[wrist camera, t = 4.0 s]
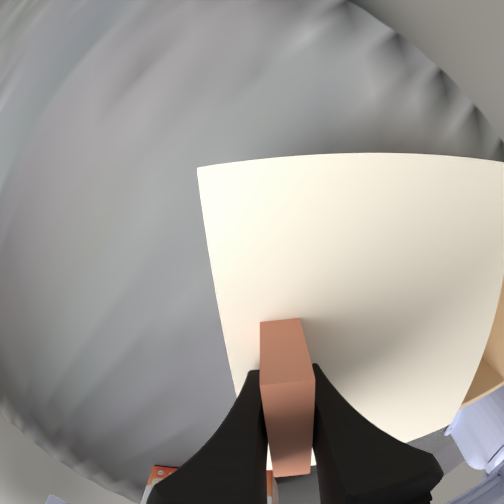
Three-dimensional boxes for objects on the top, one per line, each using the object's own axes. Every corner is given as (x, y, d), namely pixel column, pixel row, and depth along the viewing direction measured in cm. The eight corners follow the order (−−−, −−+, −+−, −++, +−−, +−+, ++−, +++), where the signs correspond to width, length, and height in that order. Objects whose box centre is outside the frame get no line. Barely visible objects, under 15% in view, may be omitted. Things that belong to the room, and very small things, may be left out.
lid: (447, 418, 13) (469, 454, 9) (255, 463, 14) (254, 513, 10) (501, 162, 8) (559, 168, 4) (200, 168, 9) (160, 163, 5)
